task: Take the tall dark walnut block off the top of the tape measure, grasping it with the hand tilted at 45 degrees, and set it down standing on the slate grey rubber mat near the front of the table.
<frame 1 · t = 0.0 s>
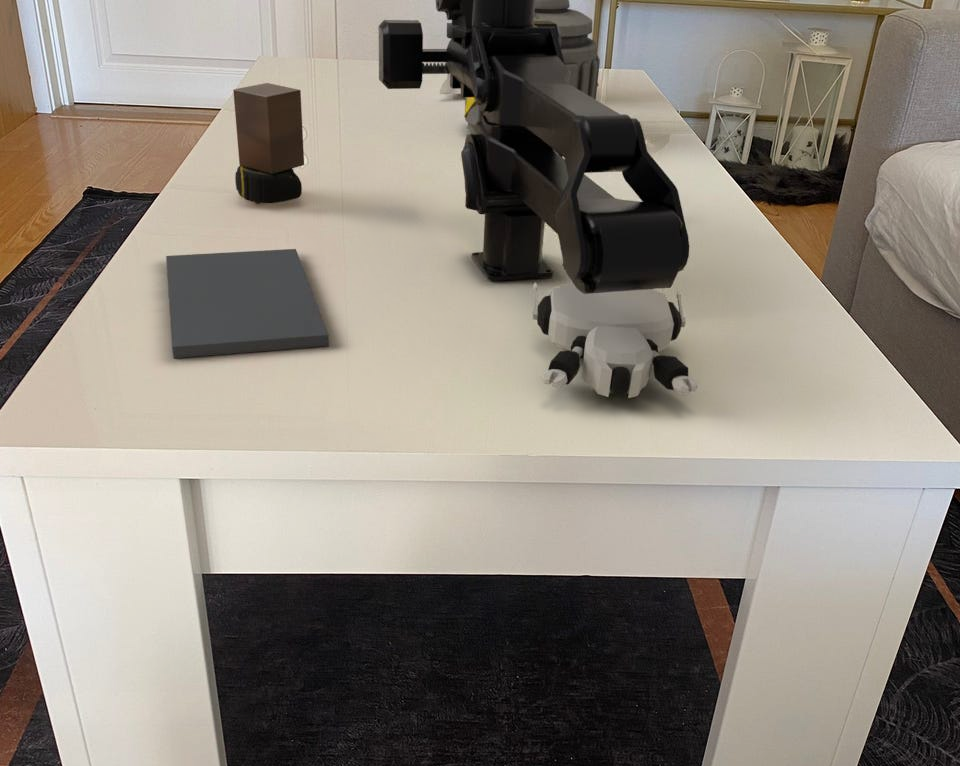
hand: (449, 40, 107), 17 cm above the table, tool horizontal, fingers open, 9 cm apart
grey mat: (241, 302, 86), on the table
robot toy: (608, 369, 78), on the table
tape measure: (274, 200, 111), on the table
grey ribbed canister: (527, 134, 142), on the table
walnut block: (272, 165, 109), point 4 cm above the table
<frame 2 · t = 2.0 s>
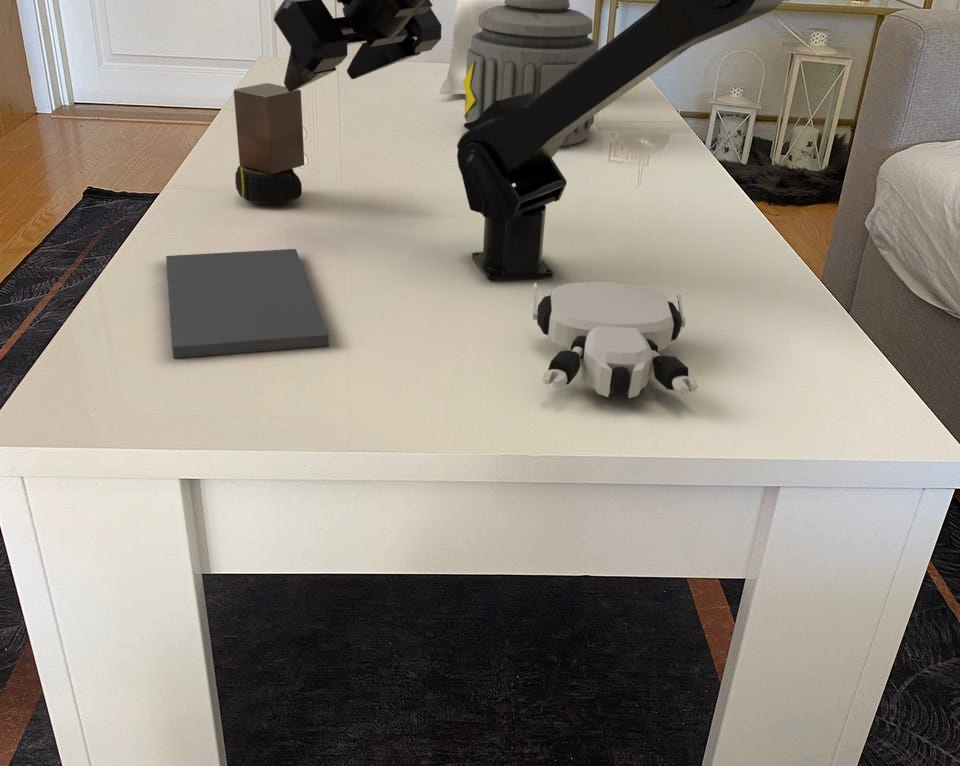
hand: (319, 81, 100), 14 cm above the table, tool tilted 45°, fingers open, 9 cm apart
tape measure: (274, 200, 111), on the table, touching walnut block
walnut block: (272, 165, 109), point 4 cm above the table, touching tape measure
everything else where it was.
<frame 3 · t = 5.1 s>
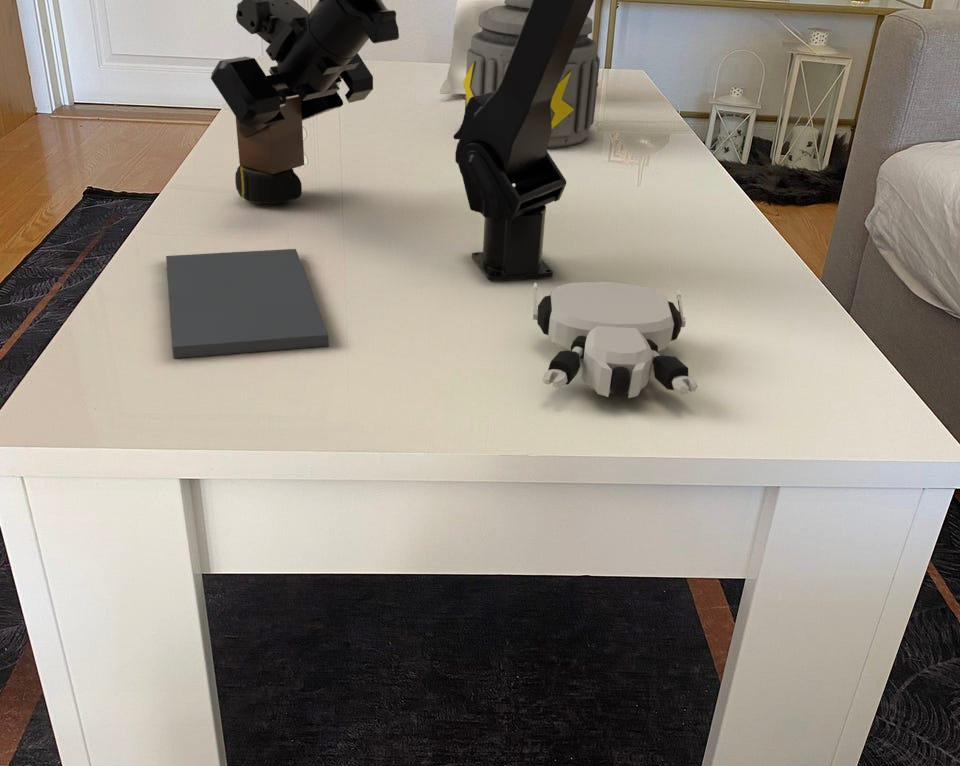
hand: (260, 129, 107), 7 cm above the table, tool tilted 45°, fingers closed on walnut block, 5 cm apart
tape measure: (274, 200, 111), on the table
walnut block: (272, 165, 109), point 4 cm above the table, touching gripper
everything else where it was.
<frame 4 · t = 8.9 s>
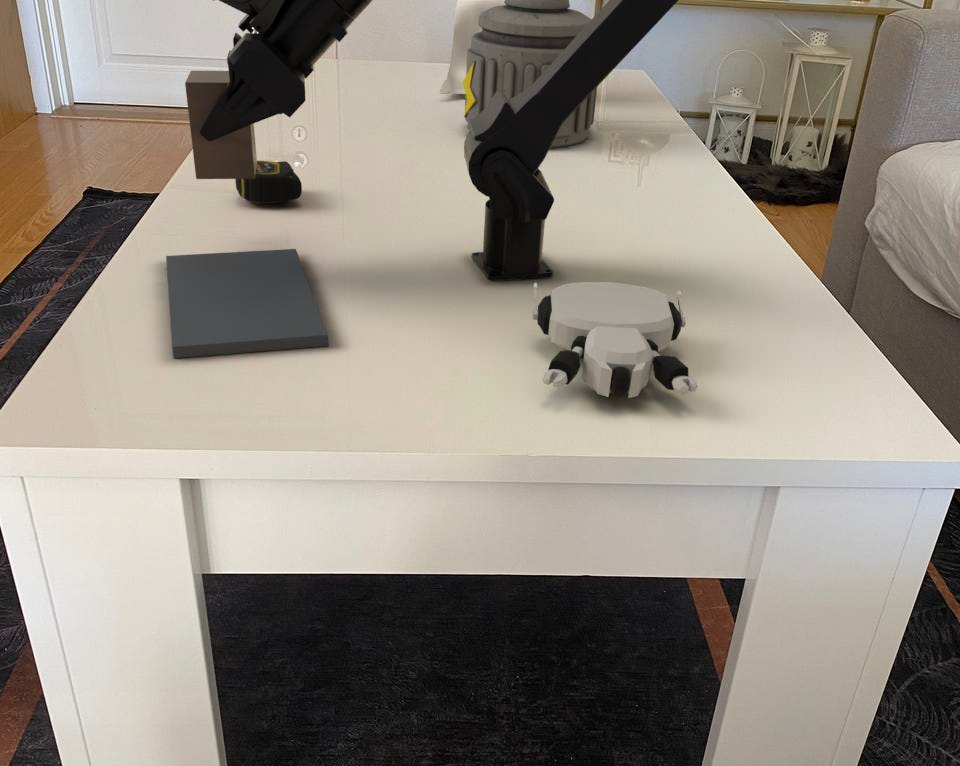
hand: (206, 129, 86), 13 cm above the table, tool tilted 45°, fingers closed on walnut block, 5 cm apart
walnut block: (227, 171, 88), point 9 cm above the table, touching gripper
everything else where it was.
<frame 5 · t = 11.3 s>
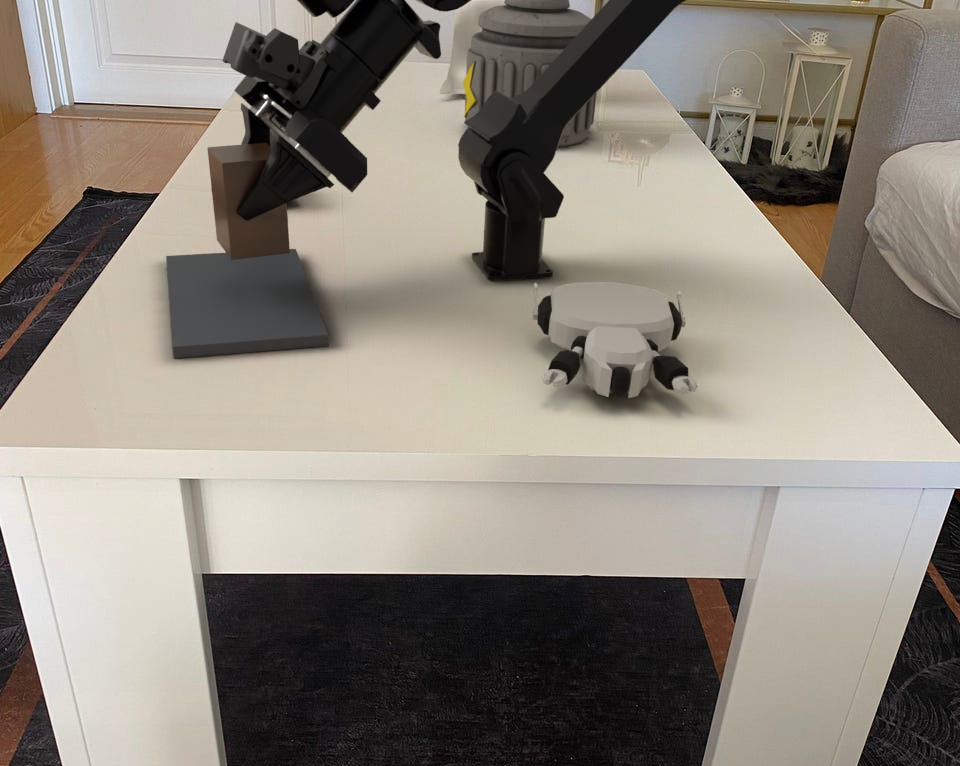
hand: (232, 206, 82), 8 cm above the table, tool tilted 45°, fingers closed on walnut block, 5 cm apart
walnut block: (253, 246, 84), point 5 cm above the table, touching gripper
everything else where it was.
when the fingers open (5 cm above the table, at t = 12.8 s): walnut block stays where it is, resting on grey mat.
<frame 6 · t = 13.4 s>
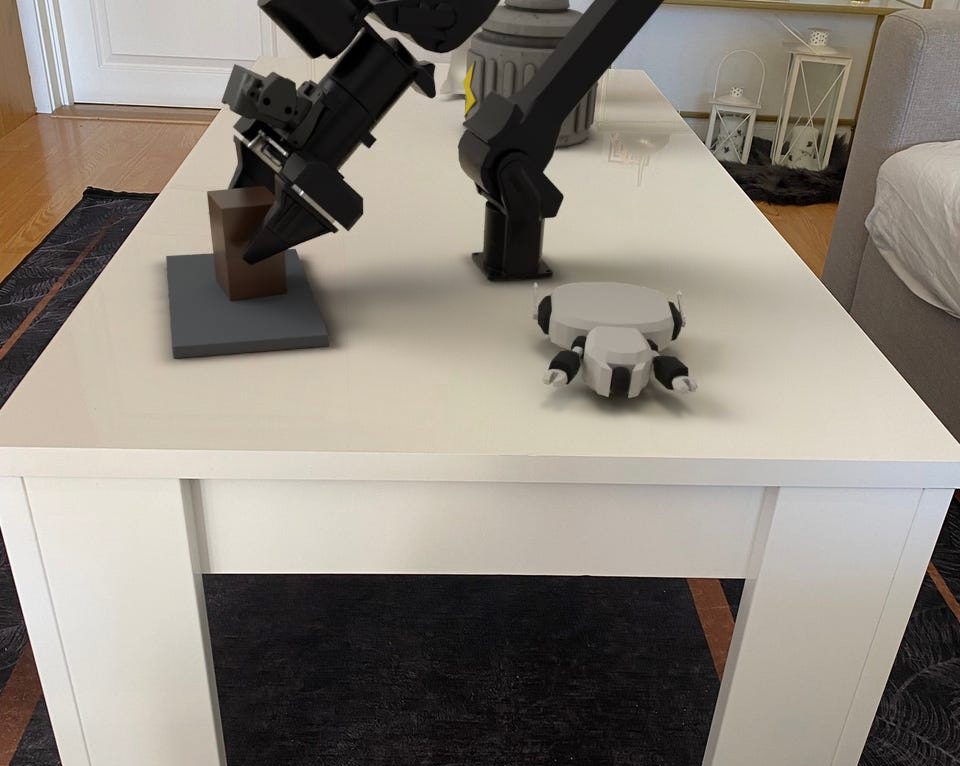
hand: (231, 242, 83), 5 cm above the table, tool tilted 45°, fingers open, 9 cm apart
walnut block: (251, 287, 86), point 1 cm above the table, touching grey mat
everything else where it was.
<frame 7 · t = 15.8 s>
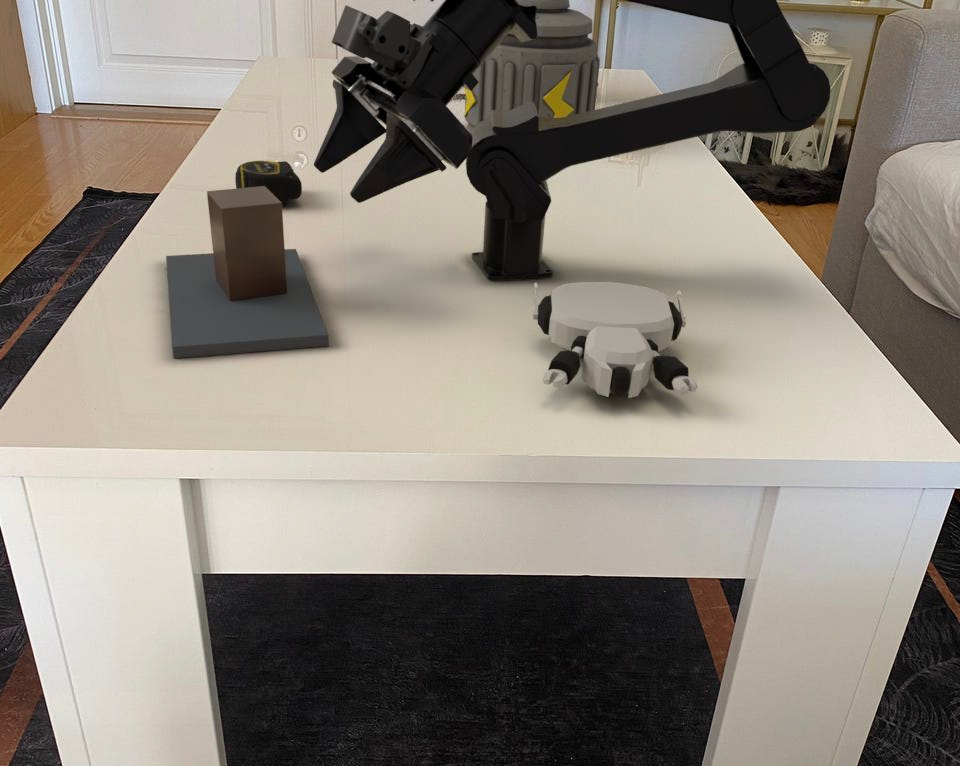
hand: (335, 183, 85), 9 cm above the table, tool tilted 45°, fingers open, 9 cm apart
nothing on the table moved.
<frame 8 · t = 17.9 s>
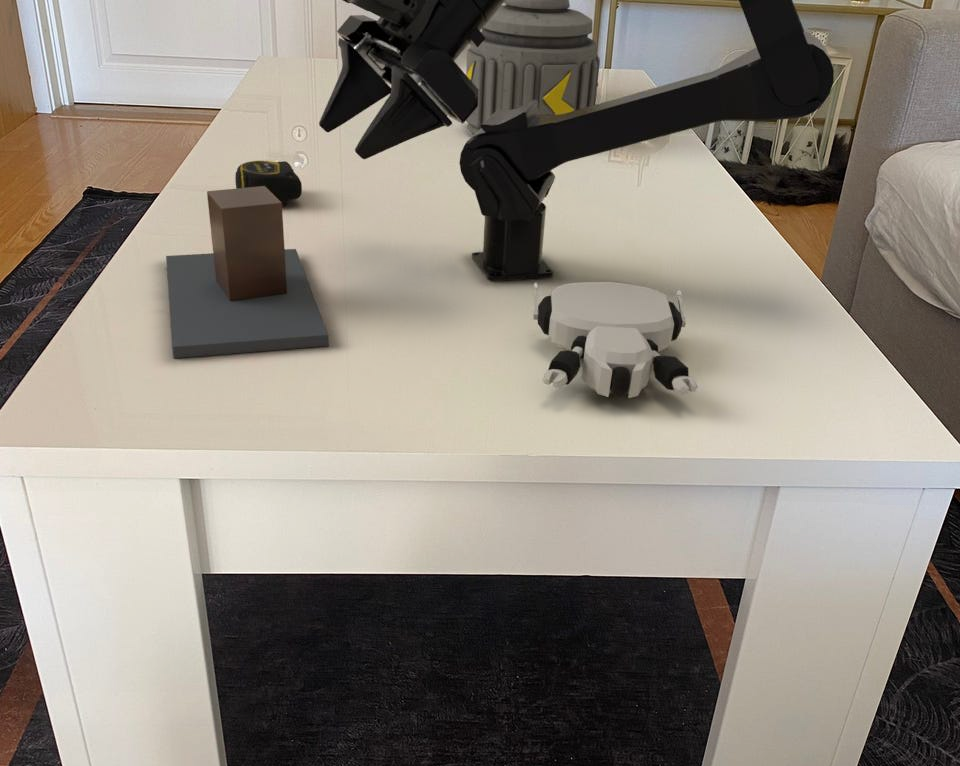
hand: (340, 141, 84), 13 cm above the table, tool tilted 45°, fingers open, 9 cm apart
nothing on the table moved.
at the end: walnut block inside the target area on the grey mat (1.4 cm from its centre), point 1.0 cm above the grey mat's base; walnut block tilted 0°; walnut block touching grey mat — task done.
